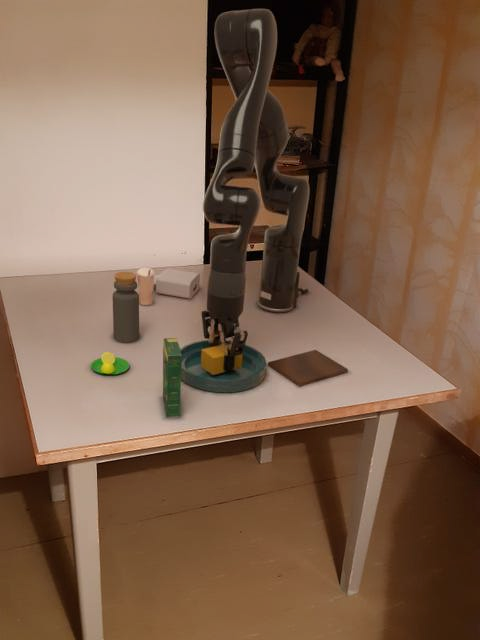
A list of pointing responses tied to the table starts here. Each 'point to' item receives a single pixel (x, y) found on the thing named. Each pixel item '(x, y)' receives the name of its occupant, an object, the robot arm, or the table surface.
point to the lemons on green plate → (109, 364)
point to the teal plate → (225, 381)
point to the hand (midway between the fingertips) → (221, 364)
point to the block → (217, 359)
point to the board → (307, 367)
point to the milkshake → (145, 285)
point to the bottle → (125, 308)
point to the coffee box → (171, 377)
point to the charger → (177, 283)
